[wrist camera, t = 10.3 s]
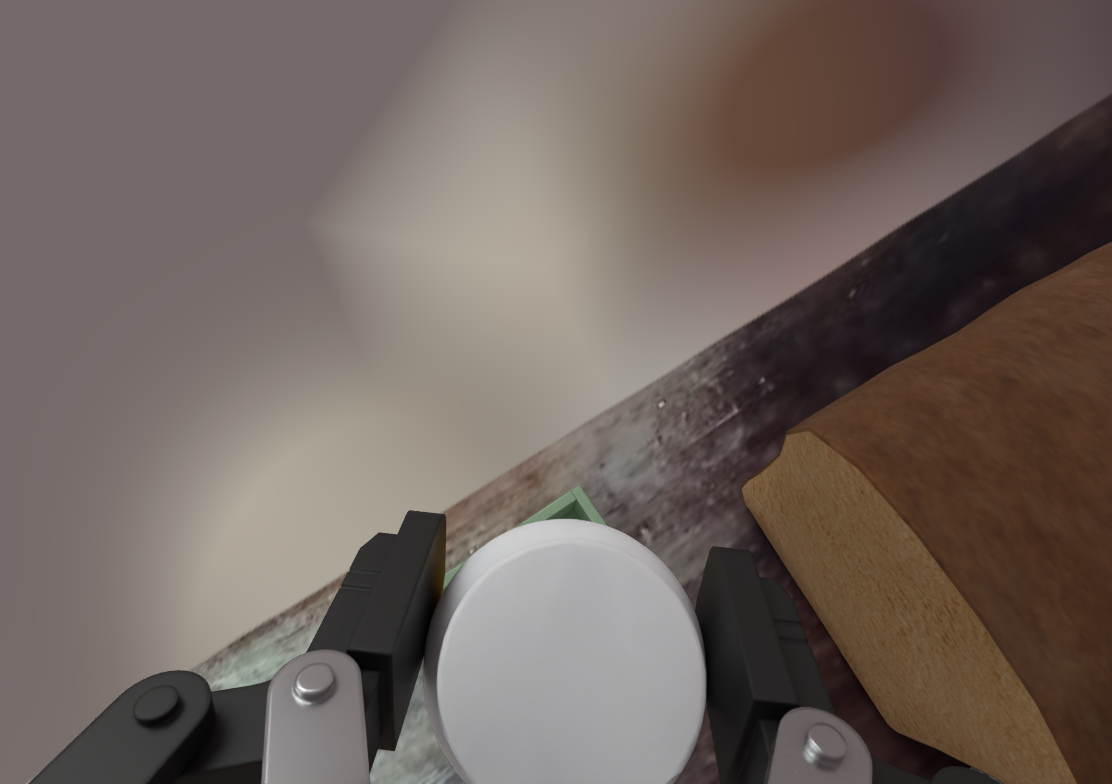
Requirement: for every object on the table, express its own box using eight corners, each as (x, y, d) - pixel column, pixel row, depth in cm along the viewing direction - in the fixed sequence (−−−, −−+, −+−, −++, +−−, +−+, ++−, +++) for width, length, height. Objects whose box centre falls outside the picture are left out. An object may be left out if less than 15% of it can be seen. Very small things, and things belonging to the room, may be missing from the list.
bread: (1277, 495, 40) (1735, 427, 24) (903, 760, 35) (1183, 883, 19) (1072, 268, 45) (1347, 94, 29) (718, 473, 40) (827, 390, 24)
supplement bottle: (430, 698, 18) (313, 794, 9) (508, 519, 20) (480, 440, 10) (609, 781, 17) (687, 979, 8) (674, 590, 19) (800, 573, 10)
